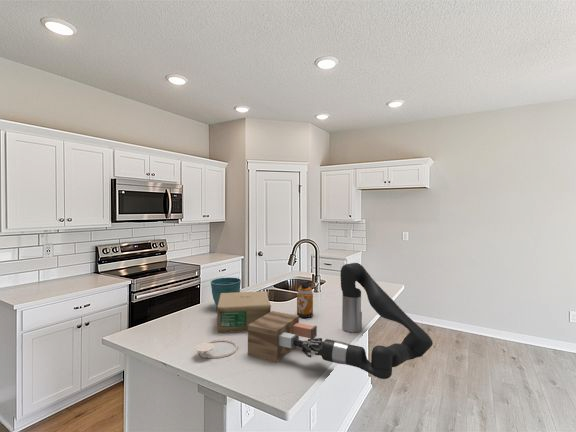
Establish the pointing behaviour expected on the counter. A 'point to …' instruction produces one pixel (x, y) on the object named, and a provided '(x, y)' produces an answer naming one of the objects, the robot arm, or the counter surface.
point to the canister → (305, 300)
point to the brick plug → (304, 330)
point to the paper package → (241, 310)
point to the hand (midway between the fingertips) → (294, 342)
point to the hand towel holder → (209, 346)
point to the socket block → (270, 335)
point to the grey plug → (287, 340)
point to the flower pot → (224, 287)
